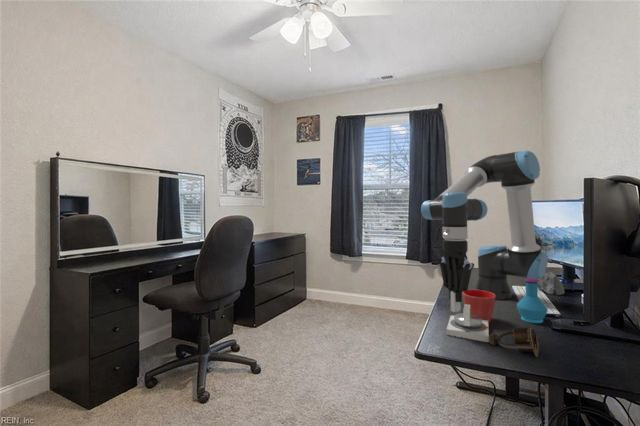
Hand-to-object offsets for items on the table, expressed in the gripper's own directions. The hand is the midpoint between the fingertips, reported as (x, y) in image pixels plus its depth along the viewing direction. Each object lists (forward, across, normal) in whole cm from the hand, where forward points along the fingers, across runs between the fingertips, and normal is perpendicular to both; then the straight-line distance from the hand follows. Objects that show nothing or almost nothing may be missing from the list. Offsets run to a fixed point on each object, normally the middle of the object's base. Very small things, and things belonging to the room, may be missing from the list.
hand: (455, 310), depth 99 cm
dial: (+5, +1, +4) cm, 6 cm away
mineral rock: (+8, -16, +79) cm, 81 cm away
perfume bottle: (+8, +3, +34) cm, 35 cm away
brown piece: (+8, +15, +7) cm, 18 cm away
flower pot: (+8, -5, +18) cm, 20 cm away
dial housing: (+7, 0, +5) cm, 9 cm away
